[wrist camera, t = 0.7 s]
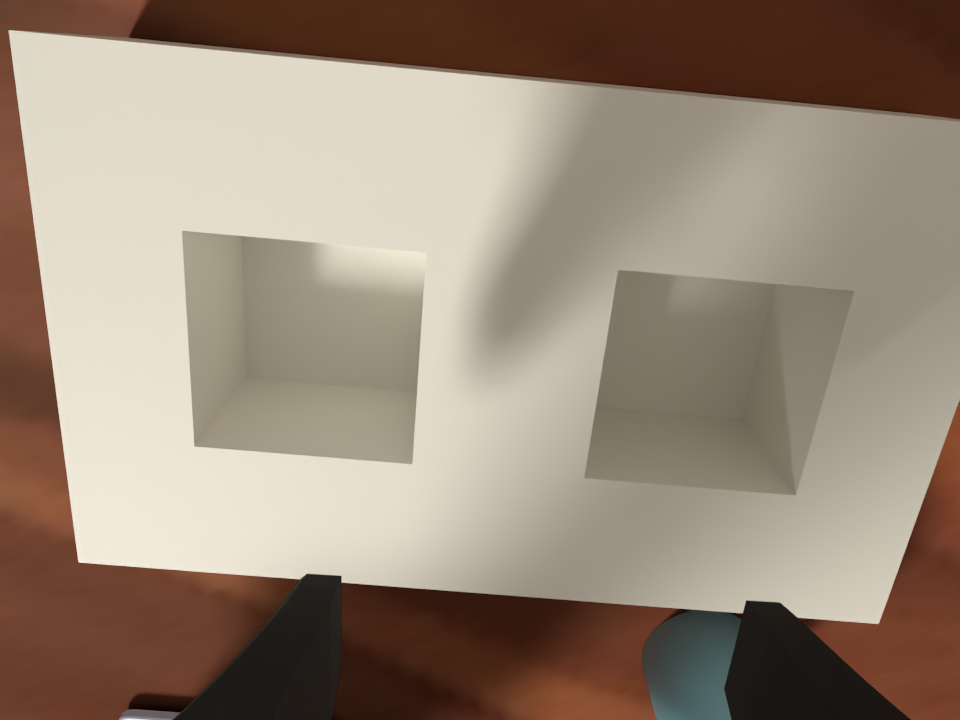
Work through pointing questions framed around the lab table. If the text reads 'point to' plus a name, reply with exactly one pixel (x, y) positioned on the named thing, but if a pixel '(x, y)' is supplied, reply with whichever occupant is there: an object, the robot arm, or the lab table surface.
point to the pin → (690, 665)
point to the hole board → (489, 325)
